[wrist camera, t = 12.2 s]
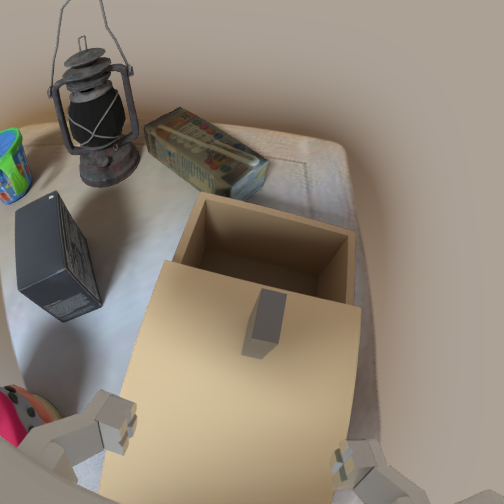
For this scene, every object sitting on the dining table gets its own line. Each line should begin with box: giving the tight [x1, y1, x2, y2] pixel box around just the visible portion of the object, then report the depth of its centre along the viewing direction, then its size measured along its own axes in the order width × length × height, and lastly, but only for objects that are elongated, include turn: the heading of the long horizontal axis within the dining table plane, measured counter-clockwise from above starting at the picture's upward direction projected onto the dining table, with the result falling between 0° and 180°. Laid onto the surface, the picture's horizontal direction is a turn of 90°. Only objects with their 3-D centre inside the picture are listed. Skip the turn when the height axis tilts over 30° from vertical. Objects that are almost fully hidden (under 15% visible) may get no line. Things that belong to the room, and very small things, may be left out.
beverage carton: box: [144, 107, 269, 201], centre depth 41 cm, size 8×19×7 cm, turn 50°
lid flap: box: [98, 260, 362, 504], centre depth 15 cm, size 21×17×6 cm
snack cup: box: [0, 128, 32, 204], centre depth 32 cm, size 16×10×10 cm
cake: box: [0, 385, 62, 448], centre depth 14 cm, size 10×11×15 cm
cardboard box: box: [172, 191, 355, 306], centre depth 27 cm, size 20×16×10 cm
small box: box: [15, 190, 102, 322], centre depth 27 cm, size 11×6×10 cm, turn 28°
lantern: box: [47, 0, 139, 188], centre depth 29 cm, size 12×11×30 cm
